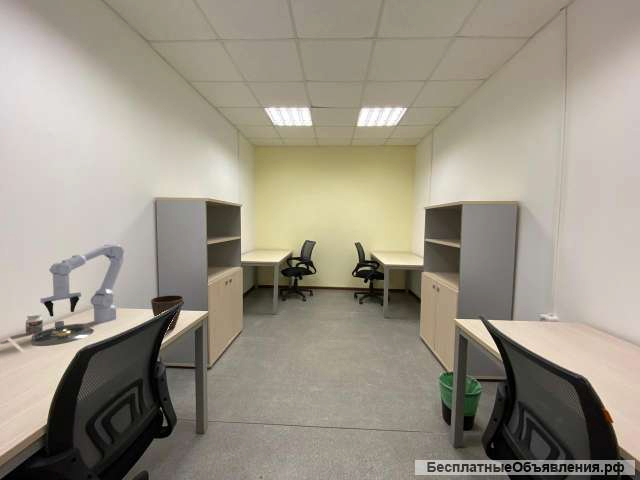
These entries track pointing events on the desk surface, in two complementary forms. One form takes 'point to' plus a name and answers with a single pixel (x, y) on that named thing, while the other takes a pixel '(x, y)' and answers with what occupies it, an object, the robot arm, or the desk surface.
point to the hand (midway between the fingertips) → (62, 313)
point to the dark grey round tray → (61, 335)
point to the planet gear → (58, 327)
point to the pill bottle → (34, 323)
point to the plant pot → (166, 306)
